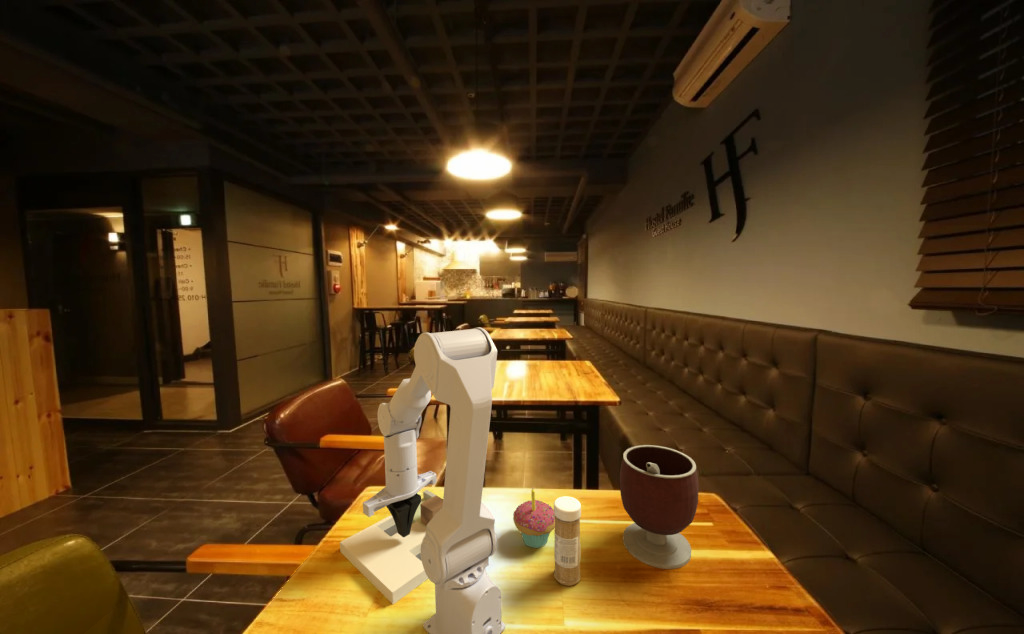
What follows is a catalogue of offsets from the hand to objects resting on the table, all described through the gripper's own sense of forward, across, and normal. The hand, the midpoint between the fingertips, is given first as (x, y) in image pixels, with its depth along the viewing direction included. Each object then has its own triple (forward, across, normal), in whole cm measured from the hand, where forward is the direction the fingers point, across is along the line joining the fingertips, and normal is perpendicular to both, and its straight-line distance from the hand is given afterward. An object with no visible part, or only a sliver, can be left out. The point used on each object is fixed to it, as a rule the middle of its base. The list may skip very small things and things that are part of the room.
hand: (403, 533), depth 71 cm
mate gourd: (+4, -32, +36) cm, 48 cm away
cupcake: (+4, -18, +17) cm, 25 cm away
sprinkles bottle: (+4, -14, +27) cm, 31 cm away
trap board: (+3, -2, 0) cm, 4 cm away
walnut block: (+2, -7, 0) cm, 8 cm away
